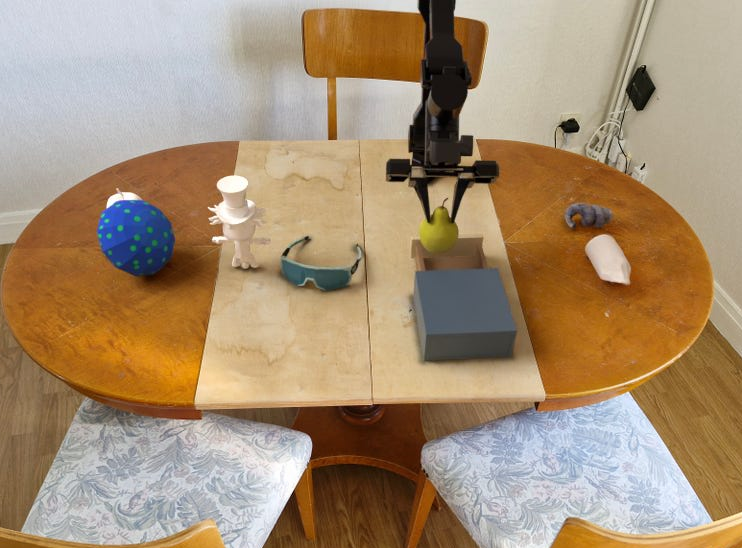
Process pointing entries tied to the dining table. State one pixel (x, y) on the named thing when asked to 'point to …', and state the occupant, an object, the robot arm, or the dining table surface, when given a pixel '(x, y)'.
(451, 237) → the fruit
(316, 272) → the sunglasses
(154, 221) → the polka dot ball
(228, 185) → the figurine
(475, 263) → the drawer
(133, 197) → the plain white apple
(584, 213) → the seashell
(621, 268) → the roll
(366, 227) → the dining table surface
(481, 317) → the cabinet
